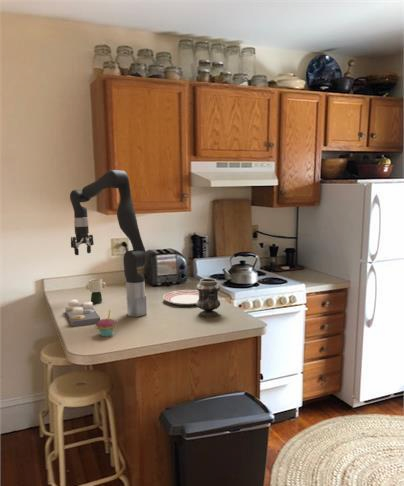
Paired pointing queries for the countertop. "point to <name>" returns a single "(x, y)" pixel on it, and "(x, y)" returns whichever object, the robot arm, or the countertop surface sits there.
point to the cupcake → (106, 326)
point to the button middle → (87, 305)
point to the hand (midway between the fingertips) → (83, 254)
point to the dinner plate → (182, 297)
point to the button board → (82, 316)
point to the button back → (73, 303)
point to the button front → (77, 311)
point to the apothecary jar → (208, 297)
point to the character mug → (96, 289)
